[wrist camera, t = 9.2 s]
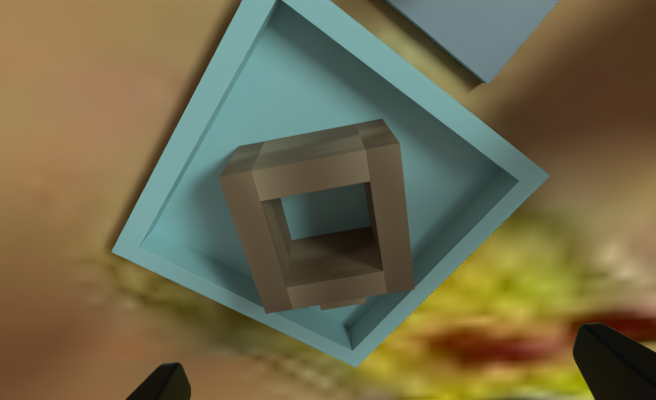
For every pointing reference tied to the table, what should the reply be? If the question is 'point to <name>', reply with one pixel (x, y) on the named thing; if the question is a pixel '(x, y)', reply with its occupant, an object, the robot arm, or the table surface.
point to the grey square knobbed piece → (476, 28)
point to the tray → (330, 204)
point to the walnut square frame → (329, 249)
